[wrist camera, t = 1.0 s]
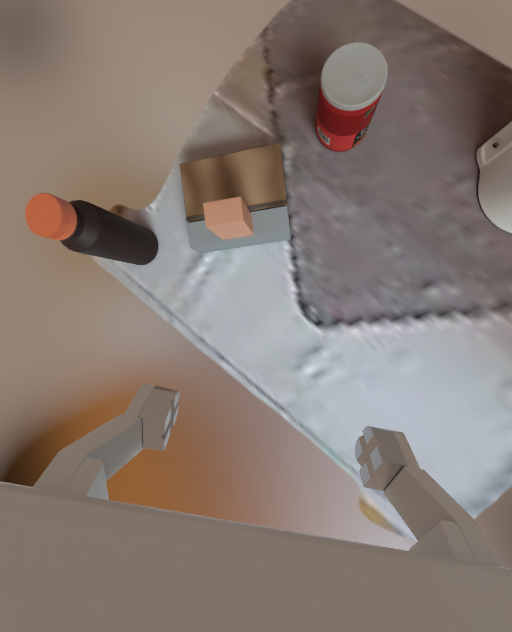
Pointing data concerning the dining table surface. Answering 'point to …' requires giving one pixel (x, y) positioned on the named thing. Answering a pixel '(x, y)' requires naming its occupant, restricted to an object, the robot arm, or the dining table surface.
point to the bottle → (90, 229)
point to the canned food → (349, 94)
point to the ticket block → (235, 180)
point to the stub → (237, 226)
